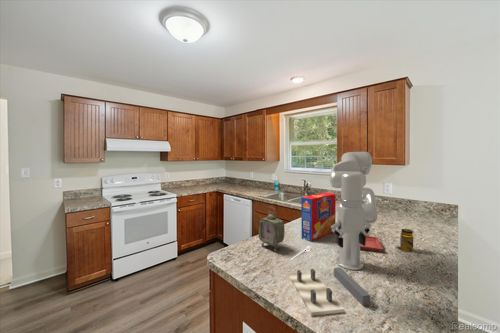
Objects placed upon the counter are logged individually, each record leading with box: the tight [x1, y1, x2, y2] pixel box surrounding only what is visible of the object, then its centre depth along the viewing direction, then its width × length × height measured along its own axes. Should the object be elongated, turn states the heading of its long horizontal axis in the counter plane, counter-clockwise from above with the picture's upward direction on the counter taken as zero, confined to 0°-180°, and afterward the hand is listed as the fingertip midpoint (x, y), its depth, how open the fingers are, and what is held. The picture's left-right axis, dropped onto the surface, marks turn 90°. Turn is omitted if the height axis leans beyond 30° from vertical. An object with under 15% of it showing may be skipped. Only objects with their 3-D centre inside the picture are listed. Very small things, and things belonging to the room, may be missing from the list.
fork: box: [290, 245, 312, 261], centre depth 120 cm, size 3×20×2 cm, turn 134°
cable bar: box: [333, 266, 371, 307], centre depth 88 cm, size 20×3×4 cm, turn 8°
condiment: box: [395, 228, 416, 255], centre depth 123 cm, size 7×8×12 cm
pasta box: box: [300, 192, 337, 243], centre depth 148 cm, size 28×8×28 cm, turn 128°
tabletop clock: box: [257, 206, 285, 252], centre depth 129 cm, size 14×9×25 cm, turn 40°
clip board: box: [288, 268, 345, 317], centre depth 85 cm, size 24×12×5 cm, turn 8°
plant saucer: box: [360, 235, 384, 253], centre depth 131 cm, size 18×18×3 cm
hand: (351, 245), depth 87 cm, fingers open, 9 cm apart
